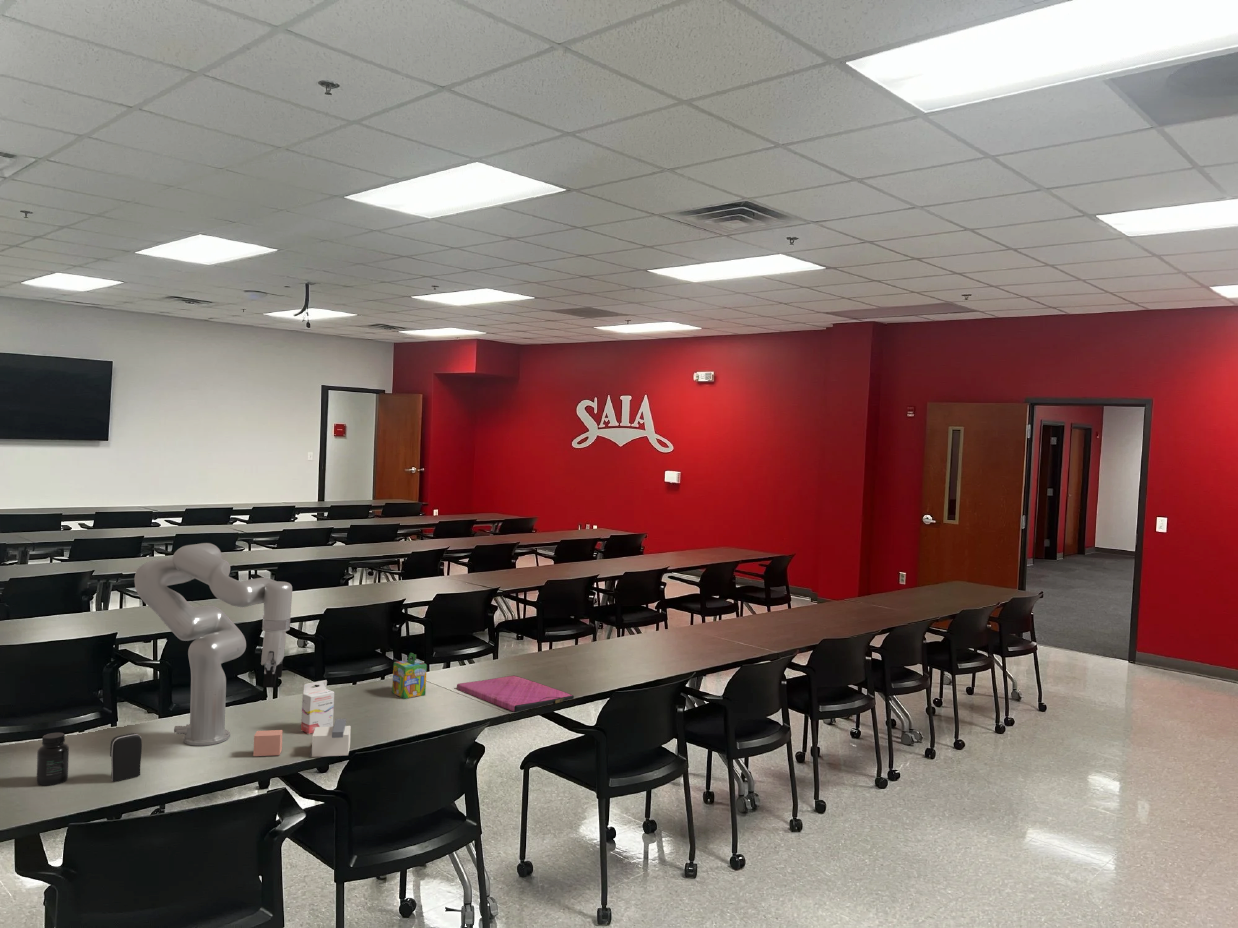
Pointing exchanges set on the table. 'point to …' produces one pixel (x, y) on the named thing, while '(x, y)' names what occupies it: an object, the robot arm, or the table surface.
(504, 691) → the laptop bag
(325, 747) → the block
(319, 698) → the ink cartridge box
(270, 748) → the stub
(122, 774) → the black rounded block
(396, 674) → the chalk box
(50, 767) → the supplement bottle
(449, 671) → the table surface
